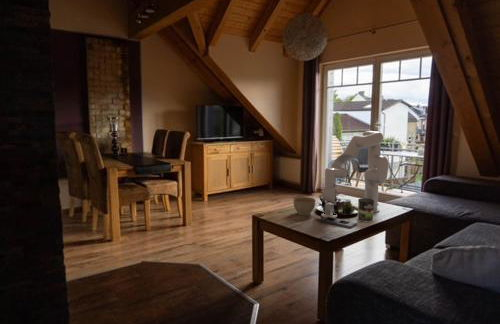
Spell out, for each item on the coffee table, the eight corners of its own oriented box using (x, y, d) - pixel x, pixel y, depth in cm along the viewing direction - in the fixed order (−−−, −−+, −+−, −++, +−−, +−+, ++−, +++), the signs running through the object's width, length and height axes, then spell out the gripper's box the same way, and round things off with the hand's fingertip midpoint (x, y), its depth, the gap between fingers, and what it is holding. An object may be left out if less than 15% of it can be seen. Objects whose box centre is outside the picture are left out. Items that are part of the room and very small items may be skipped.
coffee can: (375, 221, 247) (376, 201, 245) (361, 222, 245) (362, 202, 243) (368, 217, 257) (369, 197, 255) (354, 218, 255) (355, 198, 253)
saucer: (326, 212, 267) (326, 211, 267) (339, 215, 260) (339, 214, 260) (318, 216, 259) (318, 215, 259) (331, 219, 252) (331, 218, 252)
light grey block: (327, 213, 263) (328, 202, 262) (333, 214, 260) (333, 203, 259) (324, 214, 260) (324, 204, 258) (330, 216, 257) (330, 205, 255)
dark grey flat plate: (327, 218, 254) (327, 216, 254) (356, 225, 240) (356, 223, 239) (320, 221, 248) (320, 219, 248) (350, 228, 233) (350, 226, 233)
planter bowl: (308, 218, 254) (309, 203, 252) (288, 214, 263) (289, 200, 261) (319, 213, 266) (319, 199, 264) (299, 209, 276) (300, 195, 274)
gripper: (343, 186, 253) (342, 210, 256) (322, 182, 265) (321, 205, 267) (338, 188, 248) (337, 212, 250) (316, 184, 259) (316, 207, 262)
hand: (329, 208), depth 259 cm, fingers open, 9 cm apart
